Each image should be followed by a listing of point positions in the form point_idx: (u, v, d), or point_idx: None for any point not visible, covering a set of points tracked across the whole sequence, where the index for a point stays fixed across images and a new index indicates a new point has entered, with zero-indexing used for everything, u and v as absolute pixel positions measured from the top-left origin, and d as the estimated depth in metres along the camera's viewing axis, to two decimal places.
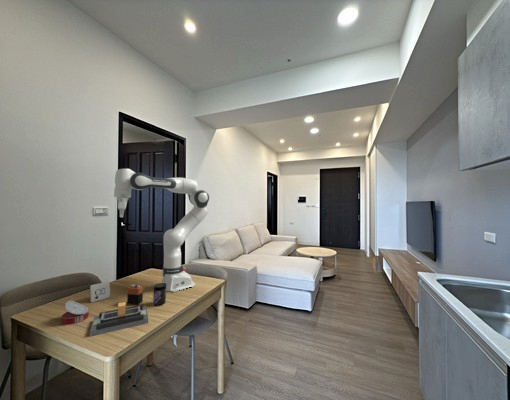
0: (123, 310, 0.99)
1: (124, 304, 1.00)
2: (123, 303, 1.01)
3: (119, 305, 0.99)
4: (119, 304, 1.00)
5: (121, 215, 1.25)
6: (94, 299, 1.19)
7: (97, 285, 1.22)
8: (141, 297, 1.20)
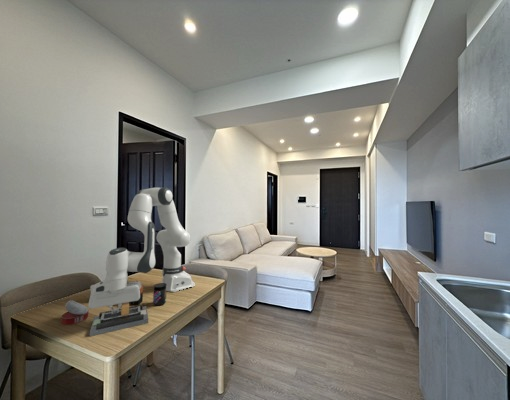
0: (127, 309, 1.00)
1: (128, 303, 1.01)
2: None
3: (123, 304, 1.00)
4: (123, 303, 1.01)
5: (118, 310, 1.00)
6: None
7: None
8: (141, 297, 1.20)
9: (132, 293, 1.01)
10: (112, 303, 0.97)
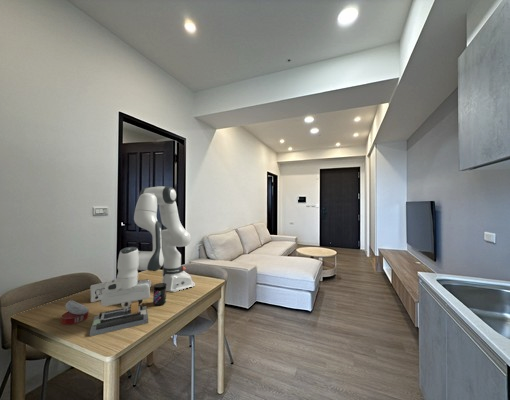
0: (136, 307, 1.02)
1: (137, 301, 1.03)
2: (136, 301, 1.04)
3: (132, 303, 1.02)
4: (132, 302, 1.03)
5: None
6: (94, 299, 1.19)
7: (97, 285, 1.22)
8: None
9: (142, 291, 1.03)
10: (123, 301, 0.99)
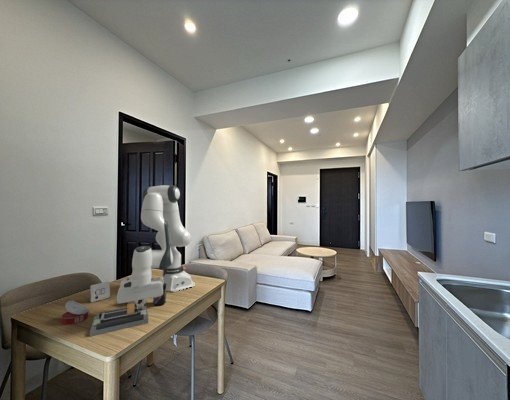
0: (132, 308, 1.01)
1: (133, 302, 1.02)
2: (132, 301, 1.03)
3: (128, 303, 1.01)
4: (128, 302, 1.02)
5: (143, 305, 1.05)
6: (94, 299, 1.19)
7: (97, 285, 1.22)
8: None
9: (155, 289, 1.06)
10: (138, 298, 1.02)
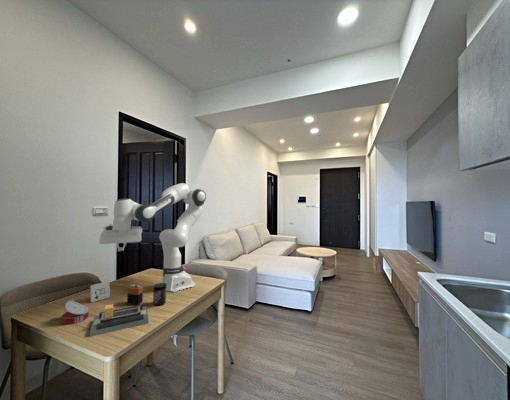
0: (110, 313, 0.96)
1: (111, 306, 0.98)
2: (110, 305, 0.98)
3: (106, 307, 0.96)
4: (106, 306, 0.97)
5: (123, 248, 1.21)
6: (94, 299, 1.19)
7: (97, 285, 1.22)
8: (141, 297, 1.20)
9: (134, 235, 1.23)
10: (118, 241, 1.19)
